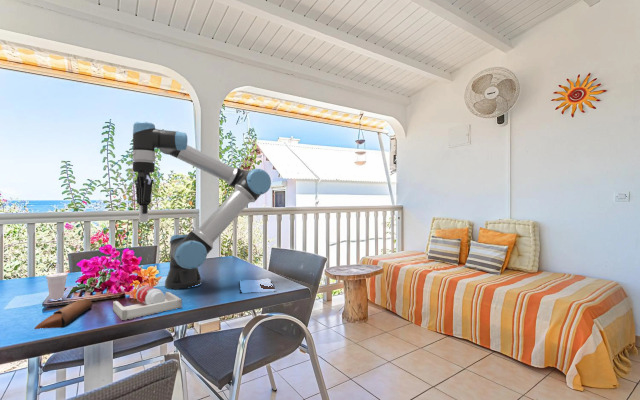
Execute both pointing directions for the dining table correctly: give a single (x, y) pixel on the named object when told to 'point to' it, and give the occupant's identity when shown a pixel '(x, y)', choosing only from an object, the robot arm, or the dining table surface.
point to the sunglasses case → (65, 314)
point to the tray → (147, 307)
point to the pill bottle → (150, 295)
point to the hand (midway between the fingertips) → (143, 221)
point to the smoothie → (56, 284)
